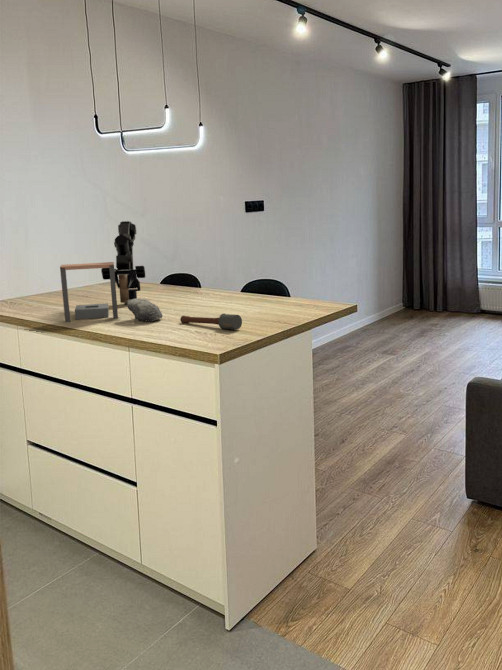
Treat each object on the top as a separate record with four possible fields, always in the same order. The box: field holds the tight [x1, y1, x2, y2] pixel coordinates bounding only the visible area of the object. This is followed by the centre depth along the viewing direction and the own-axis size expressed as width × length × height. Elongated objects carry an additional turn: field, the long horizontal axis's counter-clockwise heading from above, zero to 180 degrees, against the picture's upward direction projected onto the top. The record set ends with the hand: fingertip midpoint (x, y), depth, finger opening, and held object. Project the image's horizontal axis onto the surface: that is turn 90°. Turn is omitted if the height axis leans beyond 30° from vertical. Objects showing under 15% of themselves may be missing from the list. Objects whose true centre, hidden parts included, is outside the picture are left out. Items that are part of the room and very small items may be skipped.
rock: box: [126, 298, 164, 323], centre depth 265 cm, size 11×17×10 cm, turn 45°
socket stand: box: [59, 261, 119, 323], centre depth 276 cm, size 19×22×24 cm
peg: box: [118, 274, 129, 304], centre depth 276 cm, size 4×4×12 cm
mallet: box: [179, 313, 243, 330], centre depth 248 cm, size 6×6×30 cm
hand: (123, 287), depth 275 cm, fingers closed on peg, 4 cm apart
